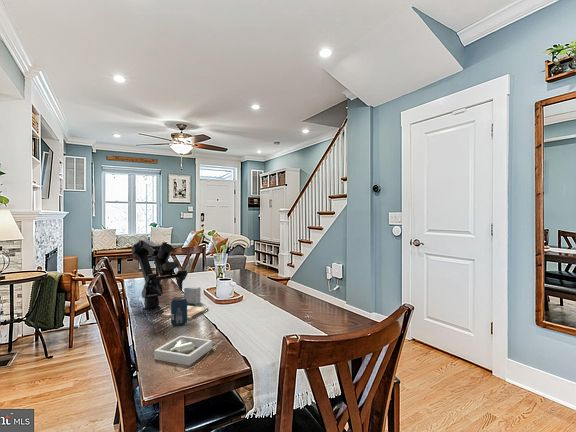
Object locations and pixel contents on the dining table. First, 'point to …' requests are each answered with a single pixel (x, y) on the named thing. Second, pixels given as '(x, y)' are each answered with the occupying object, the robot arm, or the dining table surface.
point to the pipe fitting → (183, 347)
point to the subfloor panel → (189, 312)
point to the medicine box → (192, 295)
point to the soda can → (179, 311)
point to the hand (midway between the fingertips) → (172, 292)
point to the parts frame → (166, 355)
